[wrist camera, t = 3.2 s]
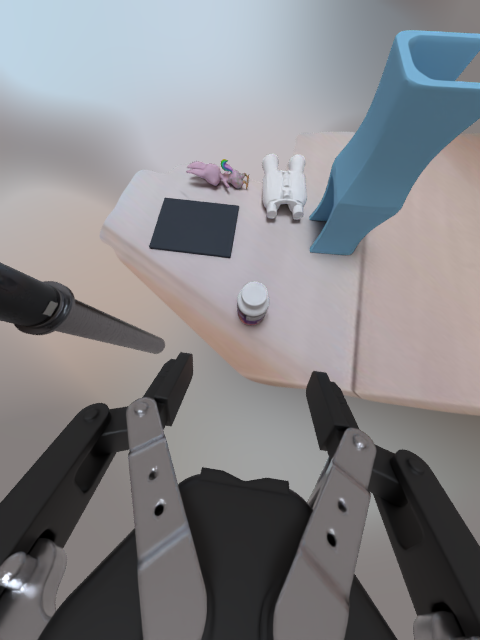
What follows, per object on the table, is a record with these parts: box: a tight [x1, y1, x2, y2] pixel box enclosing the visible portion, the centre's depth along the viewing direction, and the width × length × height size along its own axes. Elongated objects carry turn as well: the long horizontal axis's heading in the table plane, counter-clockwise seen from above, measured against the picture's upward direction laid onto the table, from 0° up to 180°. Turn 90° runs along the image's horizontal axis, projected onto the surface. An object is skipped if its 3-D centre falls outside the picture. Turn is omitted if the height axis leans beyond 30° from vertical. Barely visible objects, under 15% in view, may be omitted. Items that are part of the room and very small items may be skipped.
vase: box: [310, 30, 480, 255], centre depth 31 cm, size 10×10×25 cm
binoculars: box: [262, 154, 307, 220], centre depth 44 cm, size 10×16×5 cm, turn 178°
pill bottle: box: [237, 282, 269, 325], centre depth 33 cm, size 5×5×10 cm
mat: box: [149, 198, 239, 258], centre depth 43 cm, size 18×14×1 cm
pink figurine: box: [186, 159, 249, 189], centre depth 44 cm, size 6×6×15 cm
